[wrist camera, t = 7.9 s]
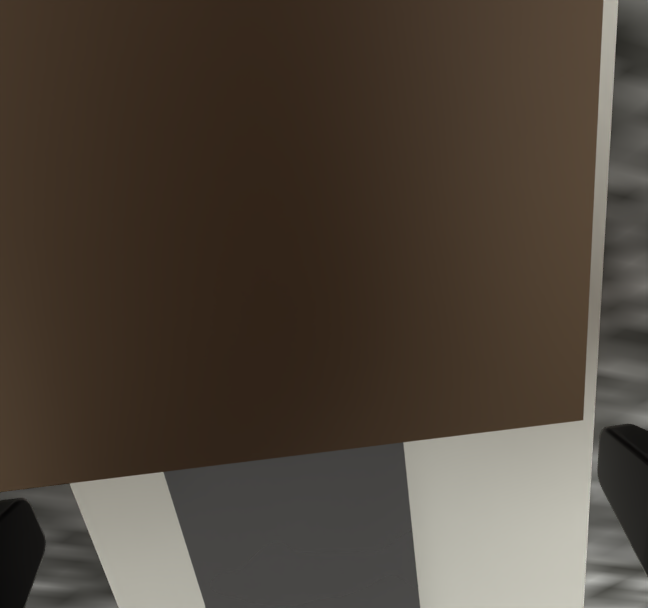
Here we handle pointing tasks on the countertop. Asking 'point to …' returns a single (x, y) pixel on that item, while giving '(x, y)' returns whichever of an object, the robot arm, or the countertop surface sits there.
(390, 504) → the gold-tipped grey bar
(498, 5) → the socket block
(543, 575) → the base board
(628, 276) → the countertop surface
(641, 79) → the countertop surface
